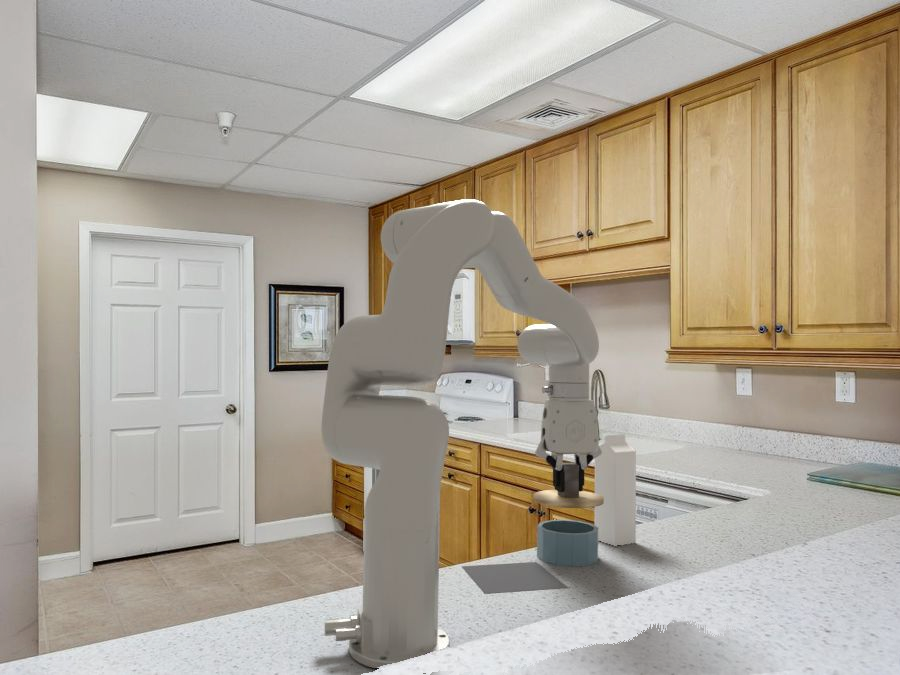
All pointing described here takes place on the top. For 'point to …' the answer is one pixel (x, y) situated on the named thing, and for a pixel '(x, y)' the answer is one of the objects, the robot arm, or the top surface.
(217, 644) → the top surface
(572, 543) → the bowl
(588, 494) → the lid
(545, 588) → the mat
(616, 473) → the milk
